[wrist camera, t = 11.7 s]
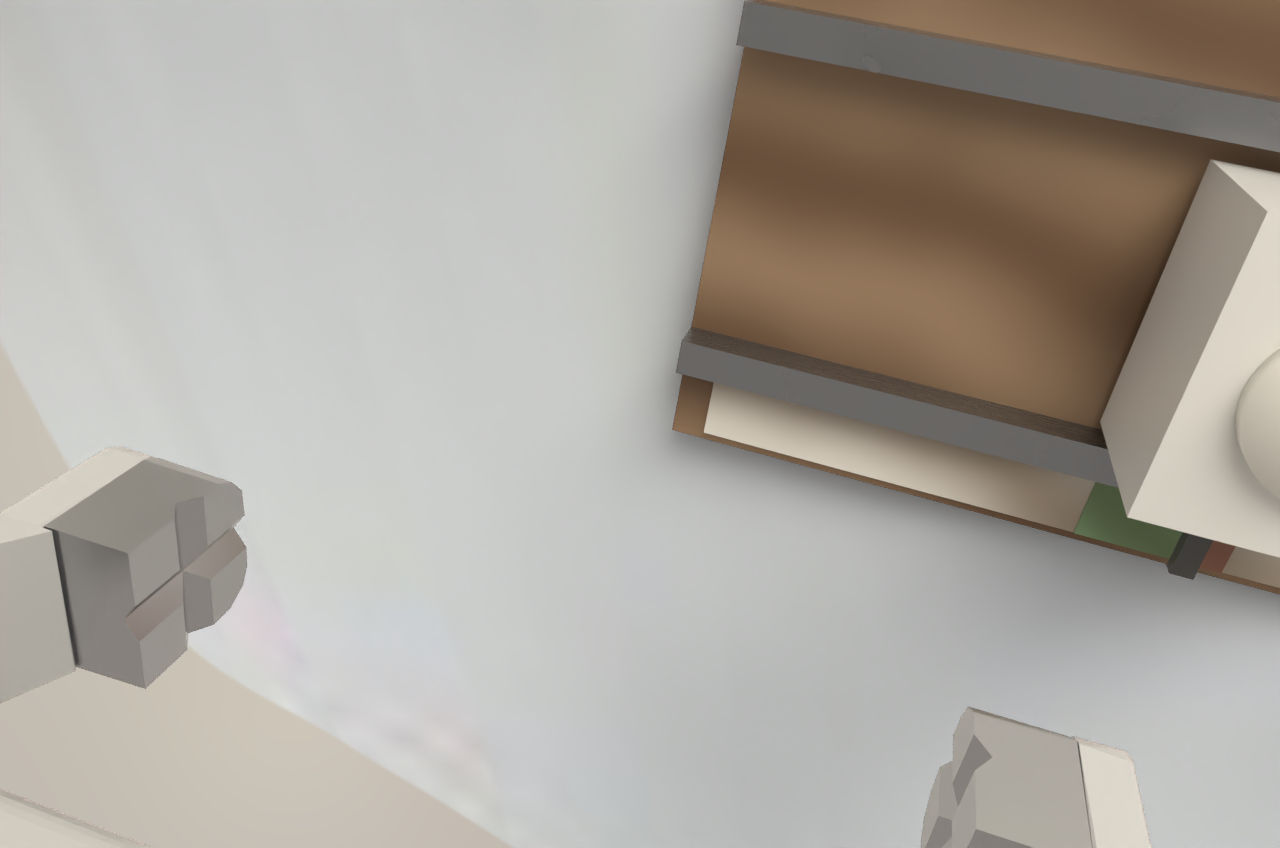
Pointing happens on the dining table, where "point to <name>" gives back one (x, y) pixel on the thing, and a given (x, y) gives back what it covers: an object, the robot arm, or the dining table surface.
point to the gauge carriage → (1208, 378)
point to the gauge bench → (966, 245)
